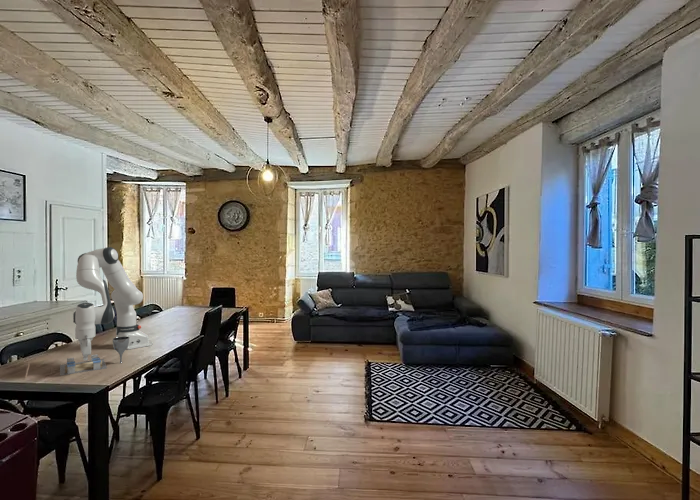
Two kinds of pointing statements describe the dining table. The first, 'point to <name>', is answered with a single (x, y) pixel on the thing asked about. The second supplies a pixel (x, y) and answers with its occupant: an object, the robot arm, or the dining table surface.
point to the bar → (83, 366)
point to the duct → (71, 362)
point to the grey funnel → (120, 345)
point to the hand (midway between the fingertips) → (85, 359)
